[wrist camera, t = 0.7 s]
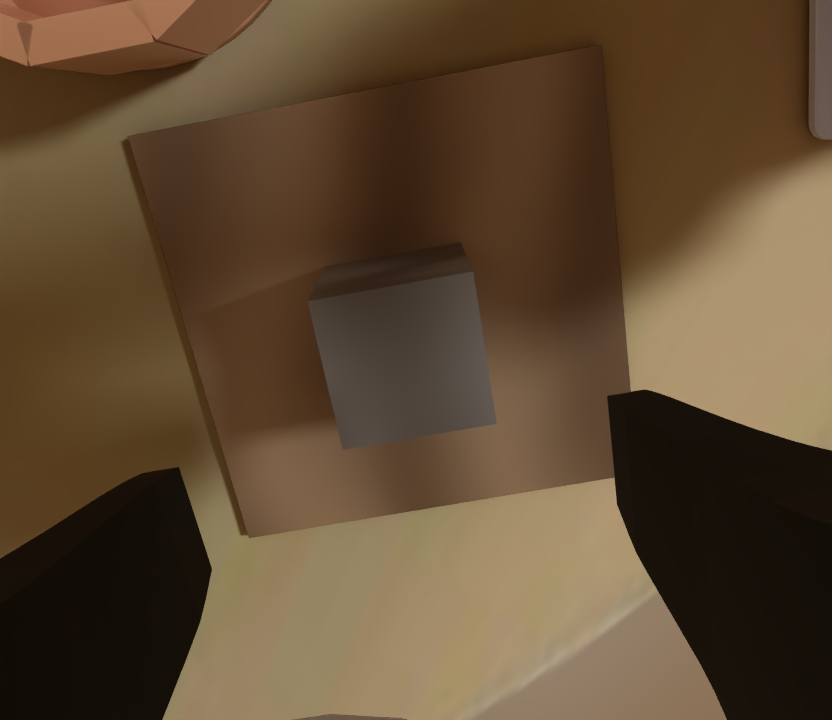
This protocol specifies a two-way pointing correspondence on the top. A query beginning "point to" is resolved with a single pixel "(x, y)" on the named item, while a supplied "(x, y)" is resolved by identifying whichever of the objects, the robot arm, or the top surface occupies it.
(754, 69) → the top surface
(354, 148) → the lid
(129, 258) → the top surface
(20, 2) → the pot
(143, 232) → the top surface
